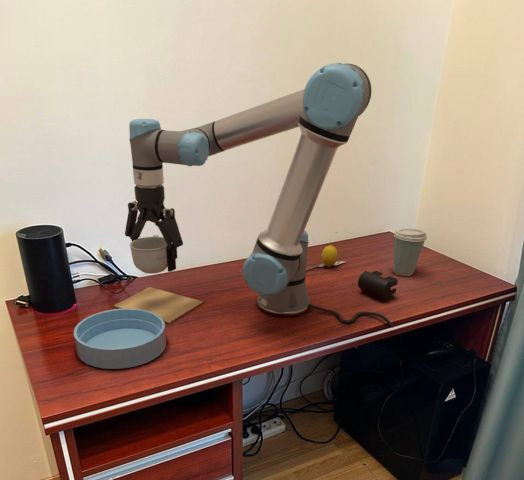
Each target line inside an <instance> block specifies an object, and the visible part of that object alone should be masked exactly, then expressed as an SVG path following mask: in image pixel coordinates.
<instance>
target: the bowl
mask: <svg viewBox="0 0 524 480" xmlns="http://www.w3.org/2000/svg"><path fill="white" fill-rule="evenodd" d="M73 337H74V344H75V349H76V355H77V357H78V358H79V359H80V360H81V361H82V362H83V363H84V364H86V365H89V366H90V367H91V366H92V367H94V368H100V369H107V370H120V369H128V368H129V369H130V368H134V367H137V366H138V367H139V366H141V365H145V364H148V363H149V362H152V361H154V360H156V359H157V358H158V357H160V356H161V355H162V354H163V353H164V351H165V350H166V347H167V335H166V323H165V322H164V321H163V319H162V318H161V317H160V316H159V315H157V314H155V313H153V312H149V311H146V310H141V309H129V308H126V309H119V308H114V309H107V310H104V311H99V312H97V313H94V314H90V315H89V316H86V317H85V318H83V319H82V320H81V321H79V322H78V323H77V324H76V326H75V327H74V329H73Z"/></svg>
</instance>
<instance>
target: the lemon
mask: <svg viewBox="0 0 524 480" xmlns="http://www.w3.org/2000/svg"><path fill="white" fill-rule="evenodd" d="M338 257H339V254H338V250H337V248H336V247H335V245H332V244H329V245H327V246H325V247H324V248H323V250H322V251H321V261H322V264H323V263H324V264H325V265H327V266H326V267H327V268H330V267H332V266H335V265H334V264H335V263H336V261H338Z"/></svg>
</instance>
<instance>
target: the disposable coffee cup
mask: <svg viewBox="0 0 524 480" xmlns="http://www.w3.org/2000/svg"><path fill="white" fill-rule="evenodd" d="M427 237H428V236H427V231H425V230H424V229H419V228H409V227H408V228H398V229H397V230H395V232H394V233H393V265H392V267H393V268H392V269H393V273H394V274H395V275H397V276H400V277H401V276H402V277H411V276H412V275H413V274H414V272H415V269H416V267H417V264H418V261H419V258H420V256H421V254H422V253H421V252H422V250H423V246H424V245H425V242H426V240H427Z"/></svg>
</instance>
